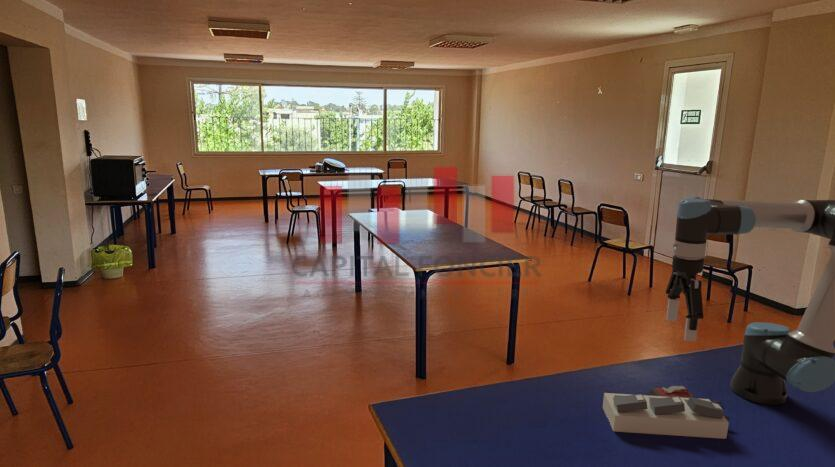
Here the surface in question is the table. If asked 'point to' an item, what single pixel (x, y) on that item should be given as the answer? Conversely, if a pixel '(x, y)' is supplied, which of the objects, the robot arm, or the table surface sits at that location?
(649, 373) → the table surface
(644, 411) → the power strip
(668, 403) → the rocker
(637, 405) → the rocker
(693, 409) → the block
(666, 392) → the walkie-talkie
